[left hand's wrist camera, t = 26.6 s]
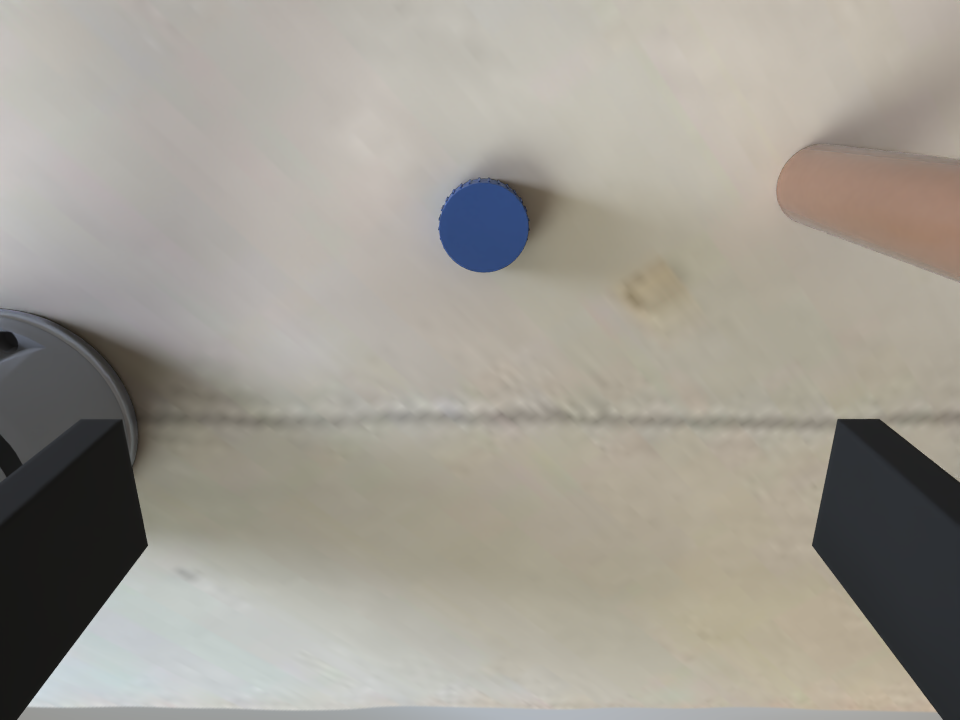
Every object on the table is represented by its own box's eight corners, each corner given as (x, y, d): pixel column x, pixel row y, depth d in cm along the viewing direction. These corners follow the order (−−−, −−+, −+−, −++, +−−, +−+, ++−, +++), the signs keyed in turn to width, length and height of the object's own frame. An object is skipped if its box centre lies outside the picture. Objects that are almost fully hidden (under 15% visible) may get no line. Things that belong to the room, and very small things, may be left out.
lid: (526, 265, 42) (528, 274, 40) (440, 264, 42) (438, 273, 40) (528, 177, 40) (531, 181, 38) (439, 176, 40) (437, 181, 38)
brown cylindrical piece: (760, 185, 40) (1001, 254, 22) (825, 125, 39) (1140, 145, 21) (806, 240, 42) (1074, 351, 23) (871, 184, 40) (1209, 253, 22)
